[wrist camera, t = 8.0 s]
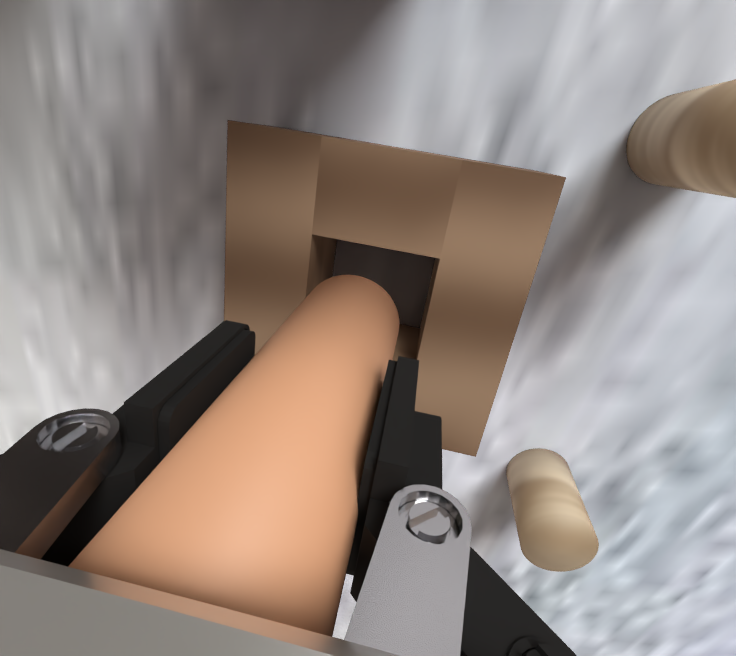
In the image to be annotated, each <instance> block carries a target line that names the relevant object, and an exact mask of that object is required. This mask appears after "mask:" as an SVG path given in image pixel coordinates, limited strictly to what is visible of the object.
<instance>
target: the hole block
mask: <svg viewBox="0 0 736 656" xmlns="http://www.w3.org/2000/svg"><path fill="white" fill-rule="evenodd" d="M565 179H566V177H561V176H557V175H553V174H548V173H544V172H539V171H534V170H528V169H522V168H516V167H511V166H505V165H499V164H493V163H487V162H481V161H475V160H469V159H463V158H457V157H451V156H446V155H440V154H434V153H428V152H422V151H416V150H410V149H404V148H398V147H392V146H386V145H381V144H375V143H369V142H363V141H357V140H351V139H345V138H339V137H333V136H327V135H322V134H316V133H310V132H304V131H298V130H292V129H286V128H280V127H274V126H266V125H259V124H252V123H245V122H238V121H230V120H228V130H227V185H226V241H225V296H224V321H226V320H228V321H233V322H238V323H243V324H248V326H249V328H250V331H254V332H255V336H256V339H255V355H256V354H257V352H258V351H259V350H260V349H261V348H262V347H263V346H264V344H265V343H266V342H267V341H268V340H269V339H270V338H271V337H272V335H273V334H274V333H275V332H276V331H277V330H278V329H279V328H280V326H281V325H282V324H283V323H284V322H285V321H286V320H287V318H288V317H289V316H290V315H291V314H292V313H293V312H294V311H295V309H296V308H297V307H298V306H299V305H300V304H301V303H302V302H303V300H304V299H305V298H306V297H307V296H308V295H309V294H310V292H311V291H312V290H313V289H314V288H315V287H316V286H317V285H318V284H320V283H321V282H323V281H324V280H326V279H329V278H331V277H332V276H333V268H334V260H335V252H336V244H337V239H339V240H344V241H350V242H355V243H360V244H365V245H371V246H376V247H381V248H386V249H392V250H397V251H402V252H407V253H413V254H418V255H423V256H429V257H434V258H435V262H434V266H433V271H432V275H431V280H430V284H429V289H428V293H427V298H426V302H425V307H424V311H423V316H422V320H421V325H420V328H417V327H412V326H407V325H402V324H399V333H398V337H397V342H396V346H395V351H394V356H393V360H394V361H397V360H398V356H402V357H406V358H411V359H416V360H419V369H418V380H417V391H416V401H415V411H417V412H422V413H427V414H431V415H436V416H440V417H441V420H442V449H445V450H449V451H454V452H458V453H462V454H467V455H471V456H475V457H476V454H477V451H478V448H479V445H480V442H481V438H482V435H483V432H484V429H485V426H486V423H487V420H488V417H489V414H490V411H491V408H492V404H493V401H494V398H495V395H496V392H497V389H498V386H499V383H500V380H501V377H502V374H503V371H504V367H505V364H506V361H507V358H508V355H509V352H510V349H511V346H512V343H513V340H514V337H515V333H516V330H517V327H518V324H519V321H520V318H521V315H522V312H523V309H524V306H525V303H526V300H527V296H528V293H529V290H530V287H531V284H532V281H533V278H534V275H535V272H536V269H537V266H538V262H539V259H540V256H541V253H542V250H543V247H544V244H545V241H546V238H547V235H548V232H549V229H550V225H551V222H552V219H553V216H554V213H555V210H556V207H557V204H558V201H559V198H560V195H561V191H562V188H563V185H564V182H565Z"/></svg>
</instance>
